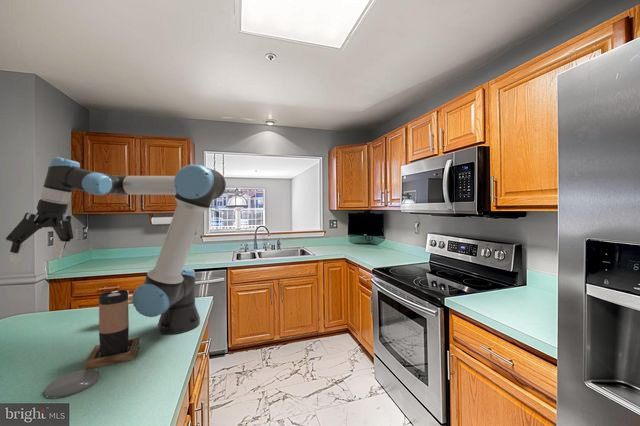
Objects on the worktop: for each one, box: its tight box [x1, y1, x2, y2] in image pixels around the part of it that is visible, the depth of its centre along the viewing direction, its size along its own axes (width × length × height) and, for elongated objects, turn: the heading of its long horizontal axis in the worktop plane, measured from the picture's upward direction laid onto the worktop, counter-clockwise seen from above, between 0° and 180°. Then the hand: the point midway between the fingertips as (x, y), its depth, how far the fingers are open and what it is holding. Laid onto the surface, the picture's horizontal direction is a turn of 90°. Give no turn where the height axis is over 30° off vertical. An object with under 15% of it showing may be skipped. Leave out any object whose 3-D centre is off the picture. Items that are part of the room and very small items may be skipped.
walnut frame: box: [85, 336, 140, 370], centre depth 89 cm, size 12×12×2 cm
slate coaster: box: [44, 368, 101, 398], centre depth 74 cm, size 11×11×1 cm
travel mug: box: [98, 289, 130, 358], centre depth 89 cm, size 8×8×20 cm
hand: (36, 260), depth 96 cm, fingers open, 13 cm apart
